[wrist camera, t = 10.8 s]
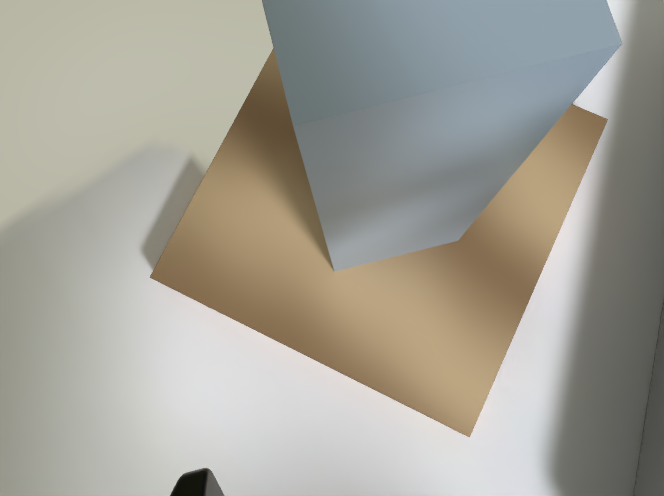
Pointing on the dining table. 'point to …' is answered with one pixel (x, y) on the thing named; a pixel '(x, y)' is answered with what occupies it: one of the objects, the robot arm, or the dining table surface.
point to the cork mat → (372, 263)
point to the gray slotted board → (653, 430)
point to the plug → (425, 106)
